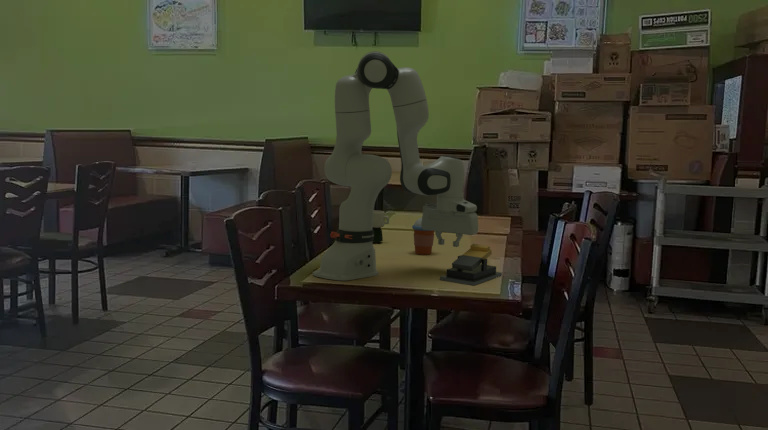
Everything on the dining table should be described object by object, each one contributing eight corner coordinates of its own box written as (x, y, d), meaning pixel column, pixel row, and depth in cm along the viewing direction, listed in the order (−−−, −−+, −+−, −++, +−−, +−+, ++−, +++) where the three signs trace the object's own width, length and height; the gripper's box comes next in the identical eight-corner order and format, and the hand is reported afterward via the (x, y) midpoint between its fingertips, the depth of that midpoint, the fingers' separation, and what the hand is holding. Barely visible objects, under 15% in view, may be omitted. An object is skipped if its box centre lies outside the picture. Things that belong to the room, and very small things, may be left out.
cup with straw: (433, 256, 264) (435, 208, 262) (409, 254, 265) (411, 207, 263) (436, 252, 273) (438, 206, 270) (413, 250, 274) (415, 204, 272)
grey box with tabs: (474, 285, 215) (475, 264, 214) (439, 279, 222) (440, 259, 221) (501, 275, 231) (502, 255, 231) (469, 270, 238) (470, 251, 237)
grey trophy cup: (388, 241, 294) (389, 210, 293) (387, 244, 287) (388, 212, 286) (362, 240, 295) (363, 209, 294) (361, 243, 288) (362, 211, 286)
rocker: (472, 271, 219) (471, 262, 218) (452, 267, 222) (451, 259, 222) (491, 254, 229) (491, 246, 228) (472, 251, 233) (471, 243, 232)
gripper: (418, 202, 238) (417, 243, 240) (472, 208, 226) (470, 250, 228) (428, 201, 243) (426, 240, 245) (481, 206, 231) (479, 247, 233)
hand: (448, 245), depth 236 cm, fingers open, 4 cm apart
